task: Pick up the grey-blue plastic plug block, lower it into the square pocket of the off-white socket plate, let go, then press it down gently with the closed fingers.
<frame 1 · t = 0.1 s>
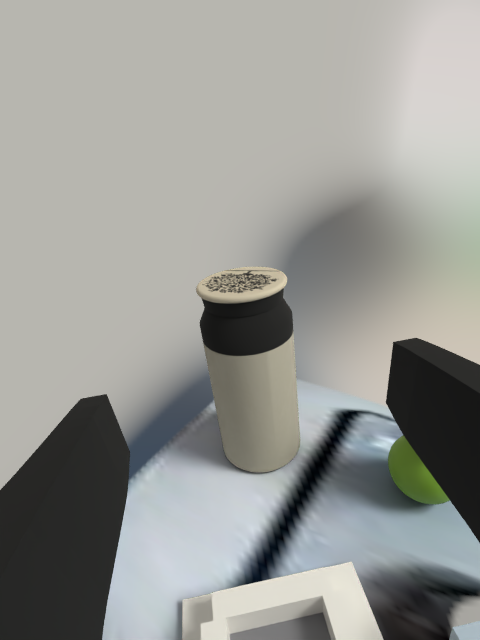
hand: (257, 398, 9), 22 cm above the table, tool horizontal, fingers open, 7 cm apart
travel mug: (261, 444, 36), on the table
snail figurine: (422, 496, 29), on the table
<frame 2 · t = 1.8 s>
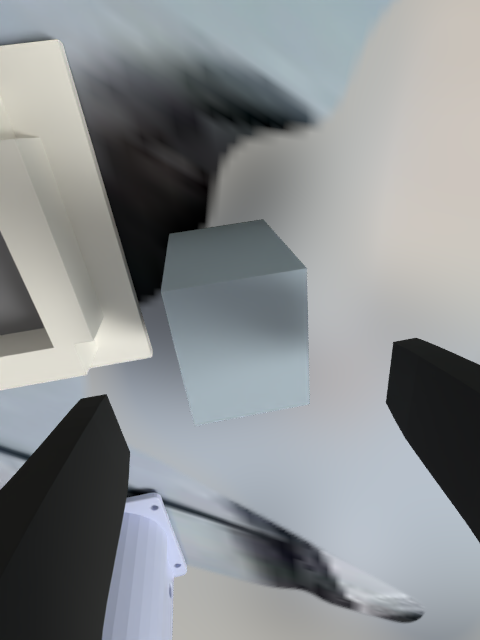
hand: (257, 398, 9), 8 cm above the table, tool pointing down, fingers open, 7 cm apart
plug block: (224, 281, 16), on the table
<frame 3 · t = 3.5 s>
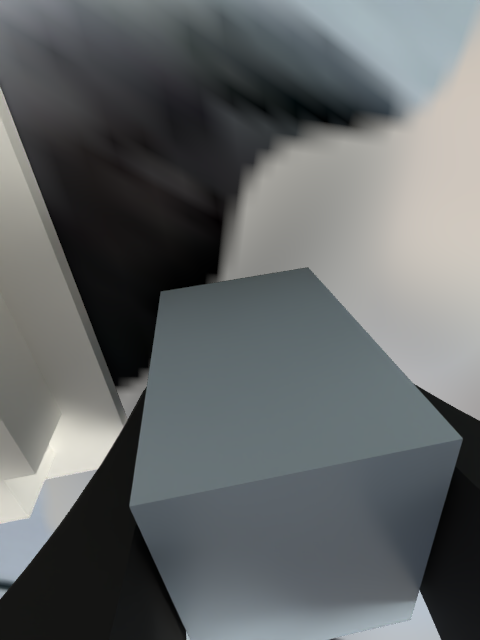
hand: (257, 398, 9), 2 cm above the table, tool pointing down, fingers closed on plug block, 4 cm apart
plug block: (245, 355, 10), on the table, touching gripper
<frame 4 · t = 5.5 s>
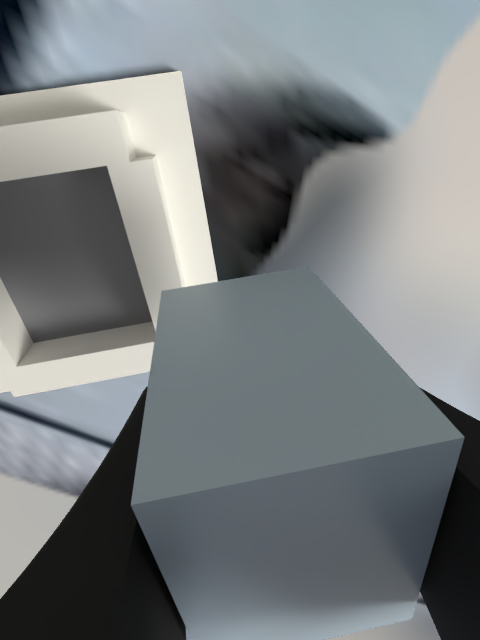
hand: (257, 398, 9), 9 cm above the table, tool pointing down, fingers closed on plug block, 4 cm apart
socket plate: (74, 257, 15), on the table
plug block: (246, 354, 10), point 7 cm above the table, touching gripper
when the fingers open (3 cm above the table, at t = 7.7 s): plug block stays where it is, resting on socket plate.
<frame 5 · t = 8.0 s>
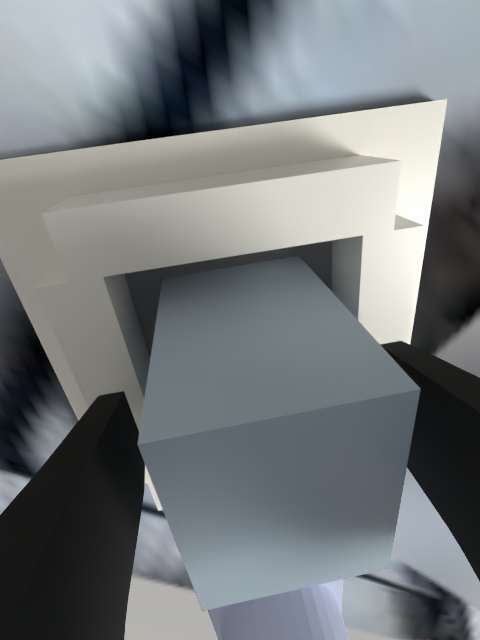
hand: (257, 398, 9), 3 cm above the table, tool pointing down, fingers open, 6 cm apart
socket plate: (239, 330, 12), on the table
plug block: (241, 339, 11), point 1 cm above the table, touching socket plate
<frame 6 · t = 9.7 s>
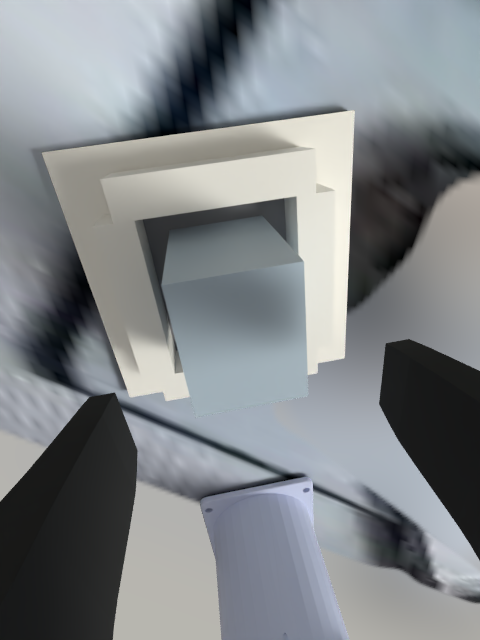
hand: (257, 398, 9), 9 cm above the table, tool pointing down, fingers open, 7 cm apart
socket plate: (223, 272, 17), on the table
plug block: (224, 276, 16), point 1 cm above the table, touching socket plate
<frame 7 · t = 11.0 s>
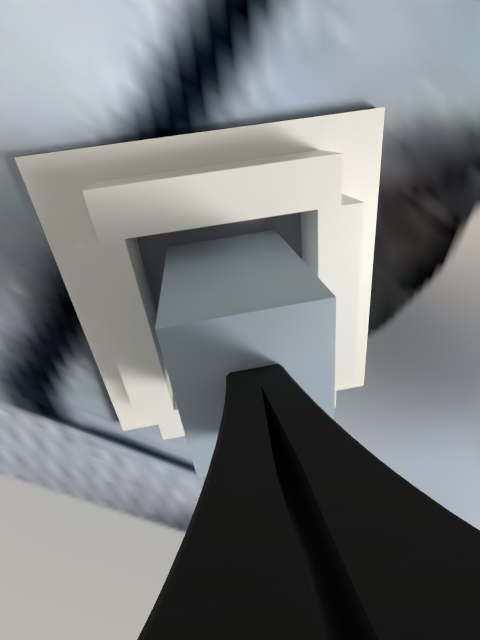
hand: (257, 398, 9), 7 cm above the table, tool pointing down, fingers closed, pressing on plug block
socket plate: (229, 293, 14), on the table
plug block: (230, 298, 14), point 1 cm above the table, touching gripper, socket plate
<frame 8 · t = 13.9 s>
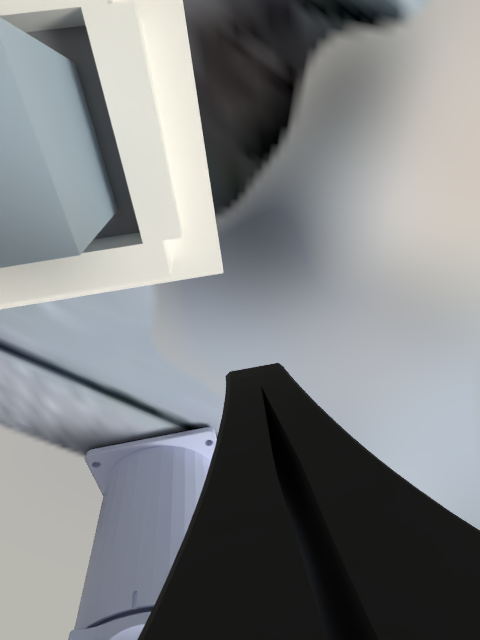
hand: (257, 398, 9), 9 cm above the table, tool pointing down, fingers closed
socket plate: (50, 151, 14), on the table
plug block: (45, 151, 13), point 1 cm above the table, touching socket plate
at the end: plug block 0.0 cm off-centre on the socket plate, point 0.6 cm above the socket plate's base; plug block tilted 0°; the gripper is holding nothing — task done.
